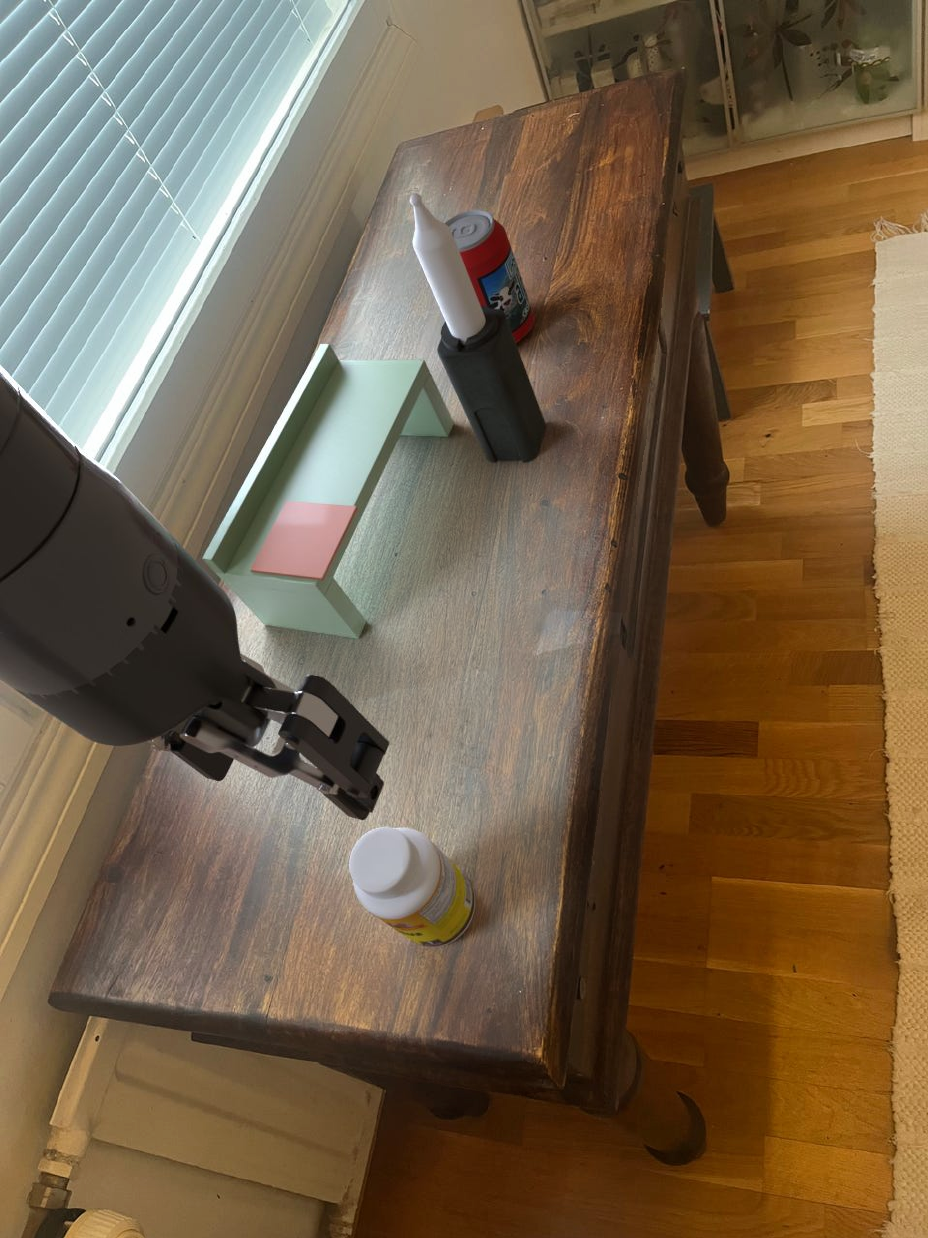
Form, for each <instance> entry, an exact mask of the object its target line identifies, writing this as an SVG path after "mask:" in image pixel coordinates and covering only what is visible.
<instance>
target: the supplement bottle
mask: <svg viewBox="0 0 928 1238" xmlns="http://www.w3.org/2000/svg"><path fill="white" fill-rule="evenodd" d="M348 860H349V861H348V869H349V874H350V877H351V879H352V884H353V889H354V892H355V895H356V897H357V900H358V901H359V903H360V904H361V905H362V906H363V908H364V909H365V910H366V911H368V912H369V913H370V914H371V915H372V916H374V917H376V918H377V919H379V920H380V921H381V922H383V923H384V924H386V925H388V927H390V928H392V929H393V930H395V931H396V932H397V933H399V934H401V935H402V936H404V937H405V938H406V939H408V940H410V941H411V942H412V943H415V944H416V945H419V946H422V947H426V948H441V947H444V946H448V945H449V944H452V943H453V942H455V941H457V940H458V939H459V938H460V937H461V936H462V935H463V934H464V933H465V932H466V930H467V929H468V928H469V926H470V925H471V922H472V920H473V917H474V914H475V910H476V892H475V889H474V886H473V884H472V882H471V881H470V879H469V877H468V875H466V874H465V873H464V872H463V870H461V868H460V867H458V866H457V864H455V862H453V861H452V859H450V857H449V856H447V855H446V854H445V853H444V852H443V851H442V850H441V849H440V848H439V846H437V845H436V844H435V843H434V842H433V841H432V840H431V839H430V838H429V837H427V836H426V835H425V834H424V833H422V832H420V831H419V830H416V829H414V828H410V827H390V826H380V827H376V828H373V829H371V830H369V831H367V832H366V833H364V834H363V835H362V836H360V838H359V839H358V840H357V841H356V842H355V844H354V846H353V848H352V850H351V852H350V855H349V859H348Z"/></svg>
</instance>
